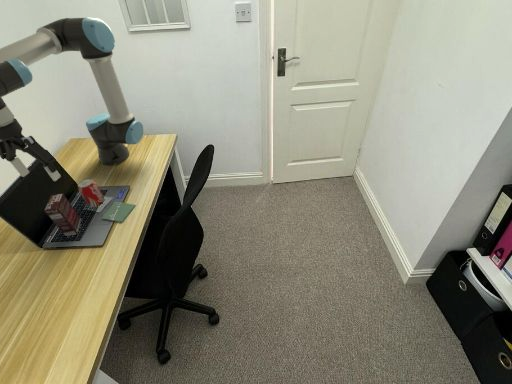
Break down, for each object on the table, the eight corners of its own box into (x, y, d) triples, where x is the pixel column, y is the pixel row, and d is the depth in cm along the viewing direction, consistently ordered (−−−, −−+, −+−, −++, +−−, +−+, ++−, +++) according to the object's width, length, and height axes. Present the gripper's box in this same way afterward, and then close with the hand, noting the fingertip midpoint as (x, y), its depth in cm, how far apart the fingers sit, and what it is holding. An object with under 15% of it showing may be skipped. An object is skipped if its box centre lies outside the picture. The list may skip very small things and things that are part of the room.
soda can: (99, 209, 122) (87, 189, 114) (85, 207, 123) (72, 187, 115) (108, 198, 127) (97, 178, 119) (95, 196, 128) (83, 176, 120)
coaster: (115, 202, 125) (115, 201, 125) (135, 205, 123) (135, 204, 123) (102, 219, 118) (101, 218, 117) (122, 222, 116) (122, 221, 115)
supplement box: (71, 222, 117) (50, 195, 107) (83, 220, 118) (63, 192, 107) (65, 238, 111) (42, 210, 100) (78, 235, 112) (57, 208, 101)
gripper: (-43, 125, 84) (4, 179, 99) (24, 131, 79) (63, 187, 93) (-20, 113, 89) (21, 166, 104) (44, 118, 84) (78, 173, 99)
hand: (41, 176), depth 99 cm, fingers open, 13 cm apart
